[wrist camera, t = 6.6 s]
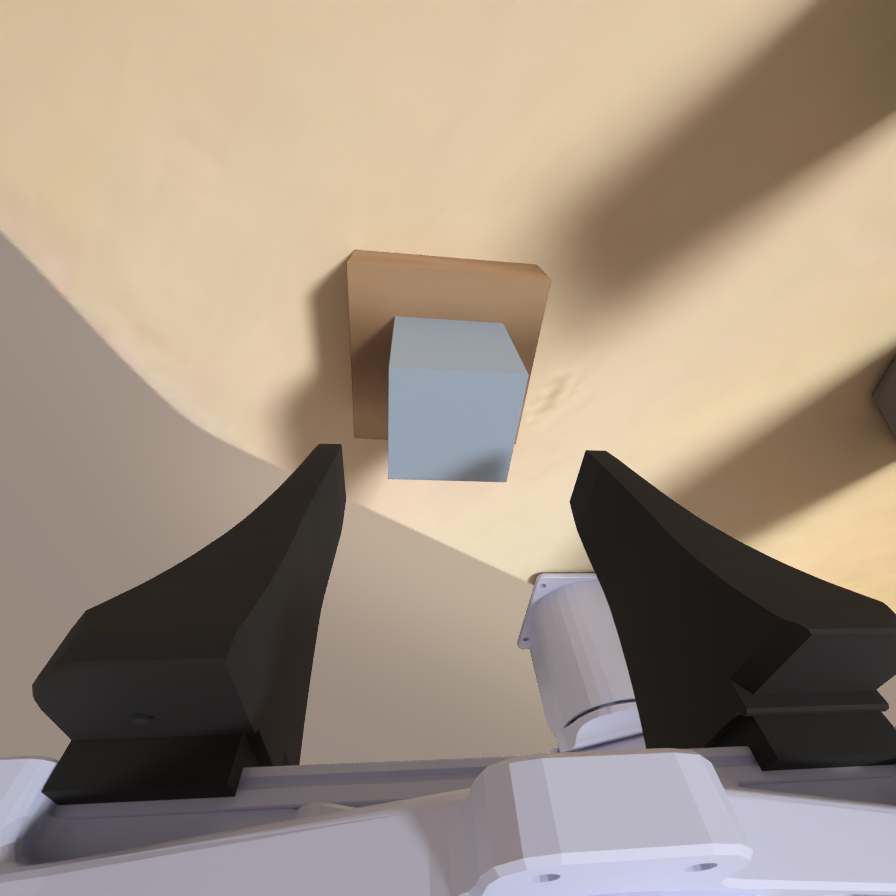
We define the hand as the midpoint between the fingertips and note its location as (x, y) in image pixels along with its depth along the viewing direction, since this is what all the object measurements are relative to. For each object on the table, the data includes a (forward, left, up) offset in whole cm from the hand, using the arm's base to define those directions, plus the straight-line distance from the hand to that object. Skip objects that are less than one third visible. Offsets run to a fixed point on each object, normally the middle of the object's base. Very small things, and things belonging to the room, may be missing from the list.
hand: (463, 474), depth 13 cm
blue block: (0, 0, -8) cm, 8 cm away
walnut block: (0, 0, -11) cm, 11 cm away
